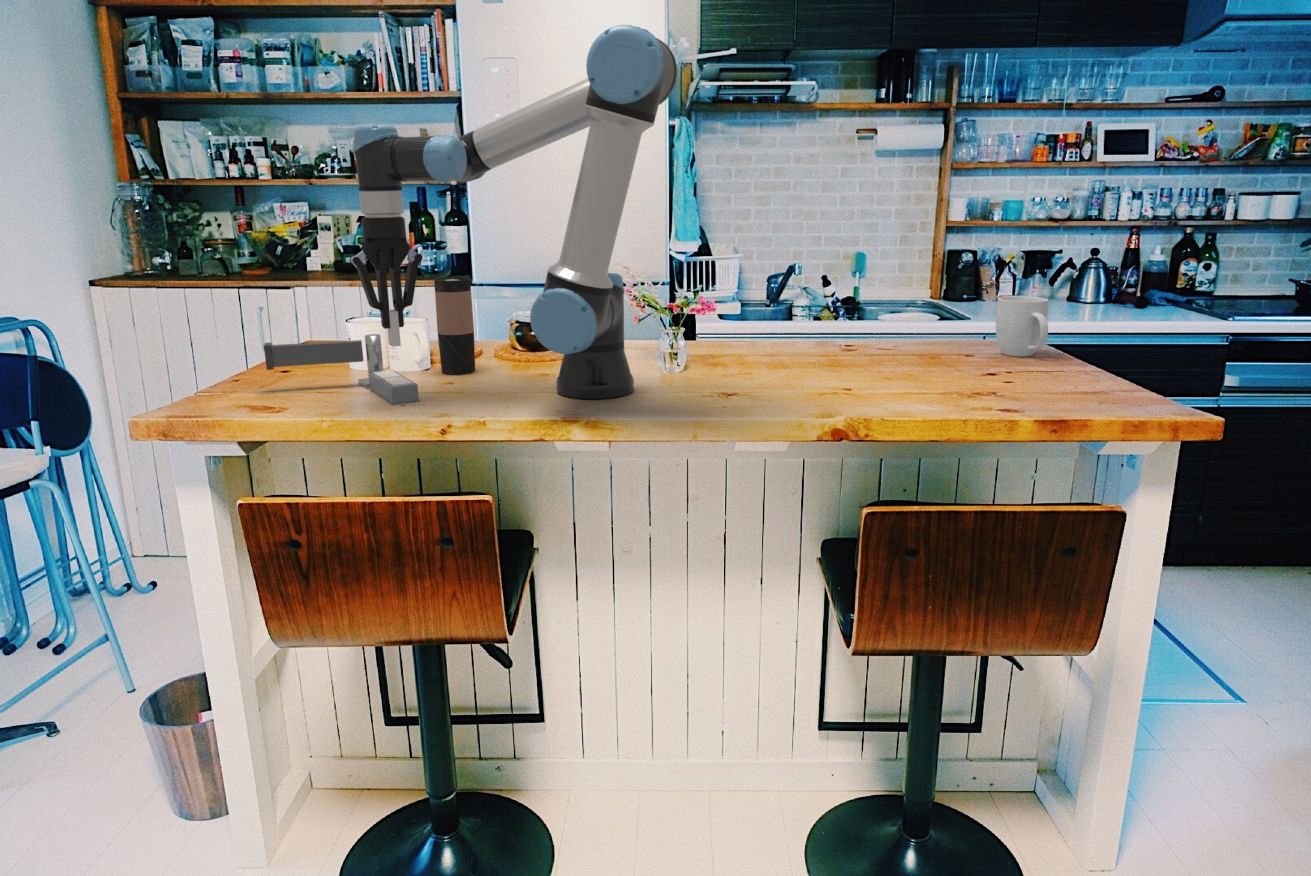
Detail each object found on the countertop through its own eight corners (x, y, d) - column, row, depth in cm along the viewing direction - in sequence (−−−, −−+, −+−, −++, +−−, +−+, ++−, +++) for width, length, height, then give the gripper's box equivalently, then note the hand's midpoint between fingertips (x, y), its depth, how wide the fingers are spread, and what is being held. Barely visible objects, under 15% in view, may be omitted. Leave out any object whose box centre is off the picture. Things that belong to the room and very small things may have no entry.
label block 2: (380, 396, 171) (378, 378, 170) (405, 392, 174) (404, 375, 173) (392, 404, 165) (390, 386, 164) (418, 401, 167) (417, 382, 166)
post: (358, 383, 182) (353, 334, 180) (387, 379, 186) (383, 332, 183) (366, 388, 178) (361, 339, 175) (396, 384, 181) (391, 336, 178)
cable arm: (363, 361, 181) (361, 337, 180) (363, 364, 178) (361, 340, 177) (268, 366, 176) (265, 342, 175) (266, 370, 173) (263, 345, 172)
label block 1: (370, 389, 177) (368, 372, 176) (395, 386, 180) (393, 369, 179) (381, 397, 171) (380, 379, 170) (407, 393, 173) (405, 376, 172)
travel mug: (468, 376, 189) (461, 281, 183) (434, 374, 190) (427, 280, 184) (481, 368, 196) (476, 277, 190) (449, 367, 197) (442, 276, 192)
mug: (1063, 361, 201) (1071, 303, 197) (1020, 363, 198) (1027, 304, 195) (1023, 349, 215) (1029, 294, 211) (982, 351, 212) (988, 296, 209)
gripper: (412, 214, 167) (422, 339, 173) (340, 216, 160) (354, 345, 167) (424, 215, 160) (435, 344, 167) (351, 217, 154) (364, 352, 161)
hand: (394, 345), depth 167 cm, fingers closed
